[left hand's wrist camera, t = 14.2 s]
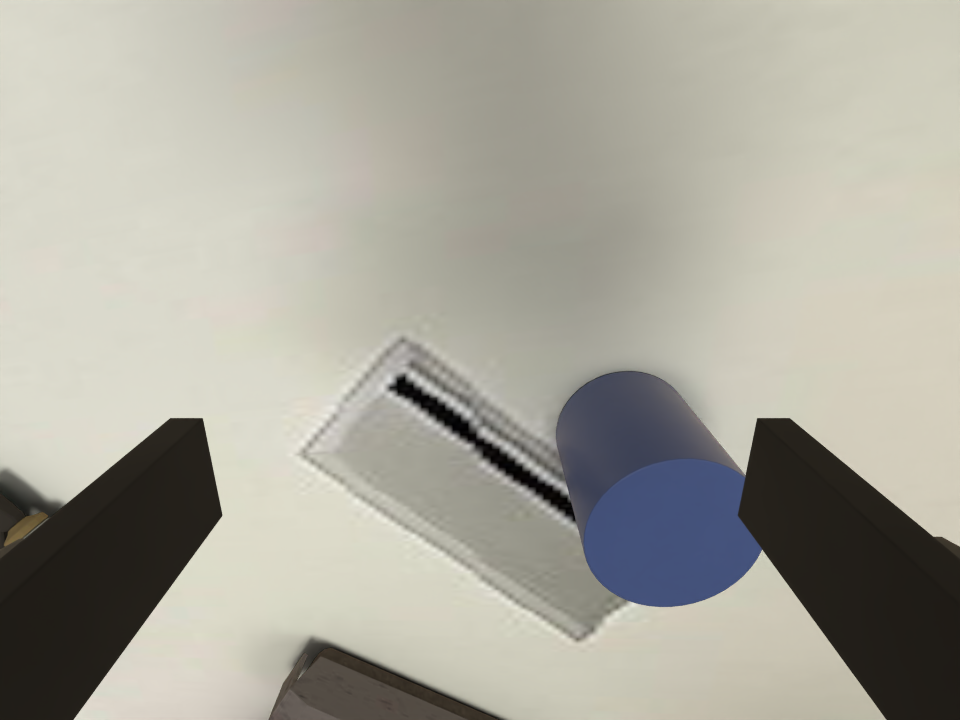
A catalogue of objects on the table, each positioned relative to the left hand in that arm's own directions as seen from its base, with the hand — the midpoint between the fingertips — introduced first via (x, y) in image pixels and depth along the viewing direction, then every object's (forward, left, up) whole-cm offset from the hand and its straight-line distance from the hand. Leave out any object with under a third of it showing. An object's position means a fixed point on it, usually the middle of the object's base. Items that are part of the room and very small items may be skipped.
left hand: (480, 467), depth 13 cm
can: (+2, +14, -21) cm, 26 cm away
